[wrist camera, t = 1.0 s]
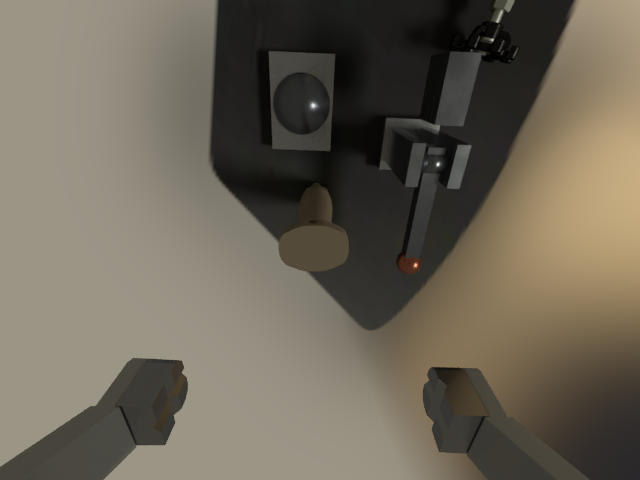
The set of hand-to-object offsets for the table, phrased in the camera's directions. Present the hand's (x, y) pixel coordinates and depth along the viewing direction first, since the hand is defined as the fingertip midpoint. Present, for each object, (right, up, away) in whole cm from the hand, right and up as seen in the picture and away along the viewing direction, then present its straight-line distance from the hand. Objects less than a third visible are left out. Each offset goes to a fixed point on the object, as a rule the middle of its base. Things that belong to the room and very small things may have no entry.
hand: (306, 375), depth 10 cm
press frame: (+5, +19, +25) cm, 32 cm away
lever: (+11, +11, +21) cm, 27 cm away
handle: (0, +11, +30) cm, 32 cm away
